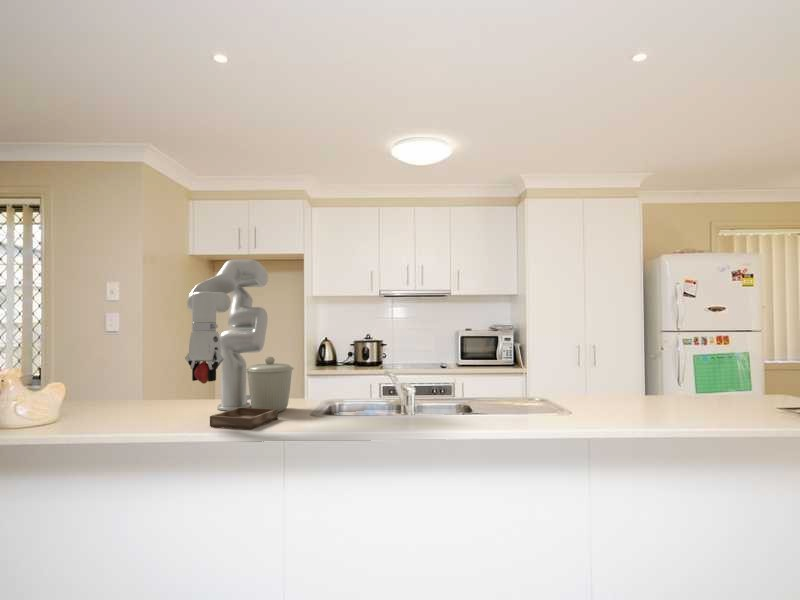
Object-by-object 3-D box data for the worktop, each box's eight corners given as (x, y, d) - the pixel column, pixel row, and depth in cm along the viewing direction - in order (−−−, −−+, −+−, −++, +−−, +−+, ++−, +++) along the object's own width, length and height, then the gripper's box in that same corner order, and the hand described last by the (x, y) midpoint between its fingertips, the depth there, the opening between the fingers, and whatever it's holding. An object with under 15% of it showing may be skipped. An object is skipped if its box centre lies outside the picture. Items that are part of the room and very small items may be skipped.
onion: (196, 385, 152) (196, 361, 152) (193, 383, 157) (193, 360, 157) (214, 383, 155) (214, 360, 156) (211, 381, 160) (211, 358, 160)
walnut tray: (239, 416, 169) (239, 407, 169) (277, 419, 164) (277, 409, 164) (209, 426, 153) (209, 416, 153) (250, 429, 149) (251, 418, 149)
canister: (242, 409, 183) (243, 356, 184) (288, 405, 191) (288, 354, 191) (248, 417, 167) (248, 359, 167) (298, 413, 174) (298, 357, 175)
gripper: (232, 327, 157) (232, 380, 157) (192, 327, 163) (192, 378, 163) (217, 328, 150) (216, 383, 150) (175, 328, 156) (175, 381, 156)
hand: (204, 380), depth 156 cm, fingers closed on onion, 5 cm apart
